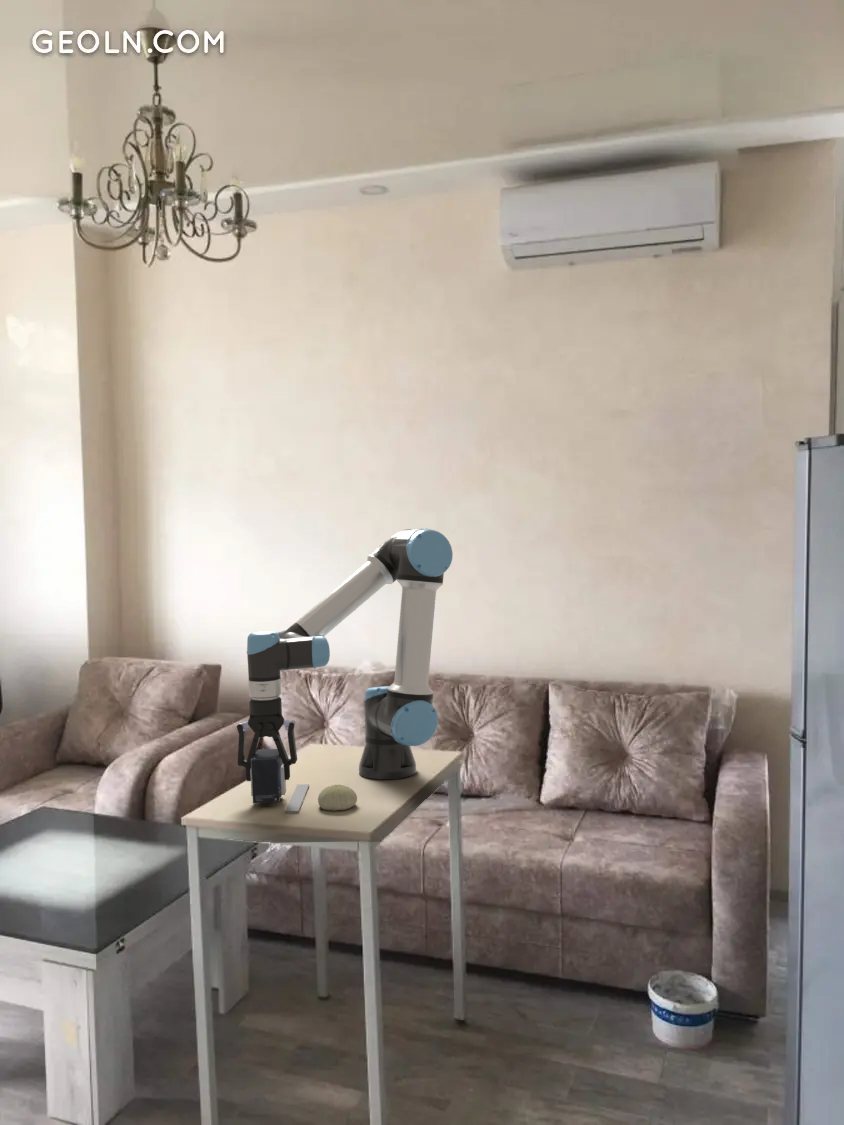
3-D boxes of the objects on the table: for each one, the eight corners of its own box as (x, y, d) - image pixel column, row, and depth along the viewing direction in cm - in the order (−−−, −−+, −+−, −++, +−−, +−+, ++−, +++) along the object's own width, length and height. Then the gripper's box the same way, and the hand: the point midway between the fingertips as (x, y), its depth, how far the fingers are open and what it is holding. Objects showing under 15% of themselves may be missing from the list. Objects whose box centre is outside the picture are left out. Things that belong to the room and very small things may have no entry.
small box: (280, 802, 222) (277, 757, 221) (252, 804, 221) (249, 759, 221) (285, 790, 232) (282, 747, 232) (258, 791, 232) (256, 749, 232)
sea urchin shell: (312, 804, 218) (317, 774, 224) (318, 821, 224) (324, 791, 229) (351, 806, 217) (356, 775, 222) (356, 823, 223) (361, 792, 228)
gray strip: (309, 786, 241) (309, 784, 241) (298, 813, 218) (298, 810, 218) (297, 786, 241) (297, 784, 241) (285, 813, 218) (285, 811, 218)
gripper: (220, 701, 222) (224, 799, 223) (304, 698, 222) (308, 797, 223) (227, 695, 229) (230, 790, 230) (307, 693, 230) (311, 788, 231)
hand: (268, 793), depth 227 cm, fingers closed on small box, 6 cm apart
